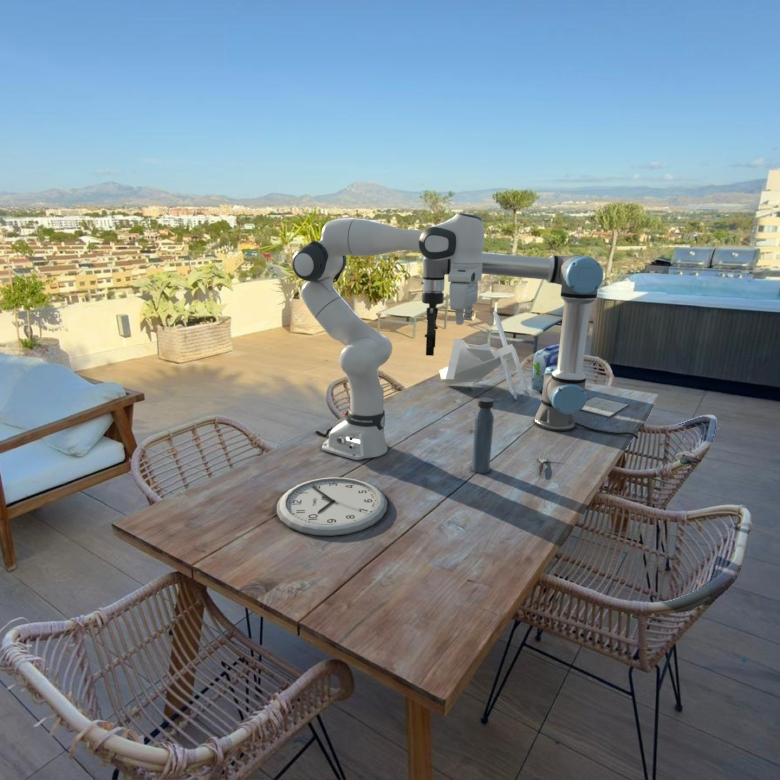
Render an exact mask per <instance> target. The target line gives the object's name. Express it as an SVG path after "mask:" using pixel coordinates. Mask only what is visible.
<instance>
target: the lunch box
mask: <svg viewBox="0 0 780 780" xmlns="http://www.w3.org/2000/svg"><path fill="white" fill-rule="evenodd" d="M559 346H560V344H554V345H550V346H547V347H544V348H542V349H541V348H540V349H539V350H537V351H536V352H535V353H534V356H533V360H532V367H531V368H532V369H531V382H530V383H531V386H530V387H531V389H532V390H533V391H537V392H541V393H542V392H543V382H544V373H545V369H546V368H547V367H553V366H557V363H558V354H559Z"/></svg>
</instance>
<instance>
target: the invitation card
mask: <svg viewBox="0 0 780 780" xmlns="http://www.w3.org/2000/svg"><path fill="white" fill-rule="evenodd" d="M628 406H629V404H627V403H623V402H618V401H614V400H609V399H605V398H601V397H596V396H593V397H592V398H590V399H587V401H586V404H585V406H584V407H583V408H582V409H581V410H580V411H584V412H587V413H593V414H596V415H600V416H604V417H608V418H609V417H611V416H613V415H614V414H616V413H617V412H619V411H621V410H623V409H624V408H626V407H628Z"/></svg>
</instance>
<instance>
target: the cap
mask: <svg viewBox="0 0 780 780" xmlns="http://www.w3.org/2000/svg"><path fill="white" fill-rule="evenodd" d="M477 407H478V408H479V409H480V408H485V409H489V408H491V409H493V407H494V399H493V398H491V397H488V396H487V397H486V396H484V397H483V396H482V397H479V398H478V399H477Z"/></svg>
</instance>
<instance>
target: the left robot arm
mask: <svg viewBox="0 0 780 780" xmlns="http://www.w3.org/2000/svg"><path fill="white" fill-rule="evenodd" d="M484 247H485V225H484V220H483V219H482V218H481V217H479V216H478V215H475V214H469V213H464V212H459V213H456V214H455V215H454V216H453V217H451V218H449V219H448V220H446V221H444V222H441V223H438V224H435V225H432V226H430V227H427V228H426V229H423V230H422V229H407V228H400V227H396V226H392V225H390V224H385V223H382V222H379V221H376V220H375V221H374V220H372V219H366V218H355V217H354V218H351V217H350V218H349V217H348V218H339V219H332V220H329V221H327V222H326V223H325V224H324V226H323V227H322V229H321V238H320V240H318V241H316V240H311V242H309V243H307V244H306V245H304V246H301V248H299V249H298V250H297V251H296V252H294V254H293V256H292V259H291V267H292V271H293V273H294V274H295V275H296V276H297V278H299V279H301V280H302V281H305V282H304V284H303V285H302V287H301V290H300V296H301V297H300V298H301V299H302V301H303V303H304V304H305V306H306V307H307V309H308V311H309V312H310V314H311V315H312V316H313V317H314V319H315V320H316V321H317V322H318V324H319V325H320V326H321V327H322V328H323V330H324V331H325V332H326V333H327V335H328V336H329V337H330V338H331V339H333V340H336V341H338V342H339V343H341V344H343V345H344V346H345V347H344V348H343V350H342V351H341V352H340V354H339V358H338V359H339V361H338V362H339V366H340V368H341V370H342V371H343V372H344V374H345V375H346V379H347V381H348V385H349V386H348V387H349V401H350V402H349V403H350V405H349V407H348V409H346V410H345V412H344V413H343V418H345V419H343V420H342V421H340V422H339V423H338V424H336V425H334V426H331V427H330V428H328V429H327V430H326V431H325V433H322V432H321V431H319V430H316V431H315V433H316V434H318V435H319V436H321V437H328V439H325V441H324V442H323V443H322V445H321V450H322V451H323V452H327V453H328V454H329V453H330V454H333V455H337V456H340V457H343V458H347V459H350V460H353V461H360V460H364V459H372V458H377V457H381V456H383V455H384V454H386V453H387V452H388V450H389V447H388V445H387V441H386V437H385V436H386V434H385V423H386V414H385V413H386V412H385V409H384V404H385V403H384V395H385V394H384V392H385V390H384V386H383V385H382V383H381V382H380V378H379V368H380V367H381V366H383V365H385V364H386V363H387V361H388V360H389V359H390V357H391V355H392V353H393V344H392V342H391V340H390V338H389V337H387V336H386V335H384V334H382V333H380V332H378V331H377V330H375V328H373V327H371V325H370V324H368V323H367V322H366V321H364V320H363V319H362V318H361V317H360V316H359V315H358V314H356V312H355V310H353V308H352V307H351V306H350V304H348V303H347V302H346V300H345V299H344V298H343V297H342V296H341V294H340V293H339V292H338V291H337V289H336V288H335V286H334V283H336V282H338V280H339V278H340V276H341V275H342V273H343V271H344V270H345V268H346V266H347V257H348V256H350V257H358V258H359V257H360V258H361V257H362V258H363V257H374V256H375V257H376V256H380V255H385V254H389V253H393V252H399V251H411V252H420V253H421V255H422V256H423V258H424V257H426V258H427V259H430V260H434V261H438V260H445V259H446V260H451V271H450V273H449V275H447V281H448V283H449V291H448V292H449V307H450V310H451V311H454V313H455V318H456V319H455V320H456V321H455V324H456V325H457V326H462V325H464V321H465V320H467V321H468V320H470V319H471V318H472V317H471V316H472V311H473V307H474V306H473V305H474V304H476V303H477V302H478V297H479V281H482V279H483V274H482V265H483V261H482V253H483V251H484Z"/></svg>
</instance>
